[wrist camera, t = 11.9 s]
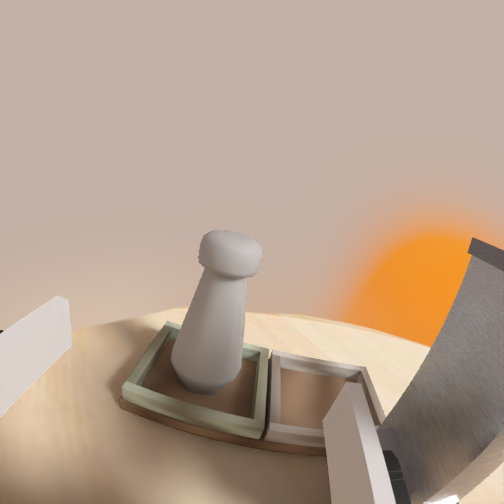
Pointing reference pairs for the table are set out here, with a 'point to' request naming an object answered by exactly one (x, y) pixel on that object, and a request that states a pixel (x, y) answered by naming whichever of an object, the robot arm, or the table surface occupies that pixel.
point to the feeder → (456, 393)
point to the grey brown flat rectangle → (247, 397)
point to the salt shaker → (216, 313)
